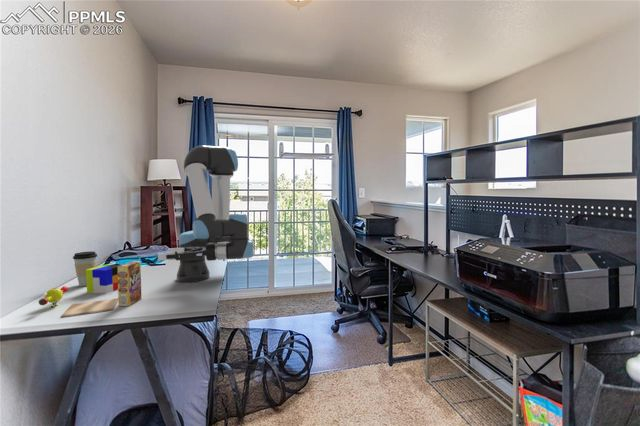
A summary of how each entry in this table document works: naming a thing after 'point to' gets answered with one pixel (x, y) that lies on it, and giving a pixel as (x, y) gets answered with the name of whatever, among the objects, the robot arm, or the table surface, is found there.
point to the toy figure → (53, 296)
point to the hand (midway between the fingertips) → (163, 254)
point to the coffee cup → (84, 265)
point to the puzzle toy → (102, 279)
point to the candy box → (129, 283)
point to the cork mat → (90, 307)
